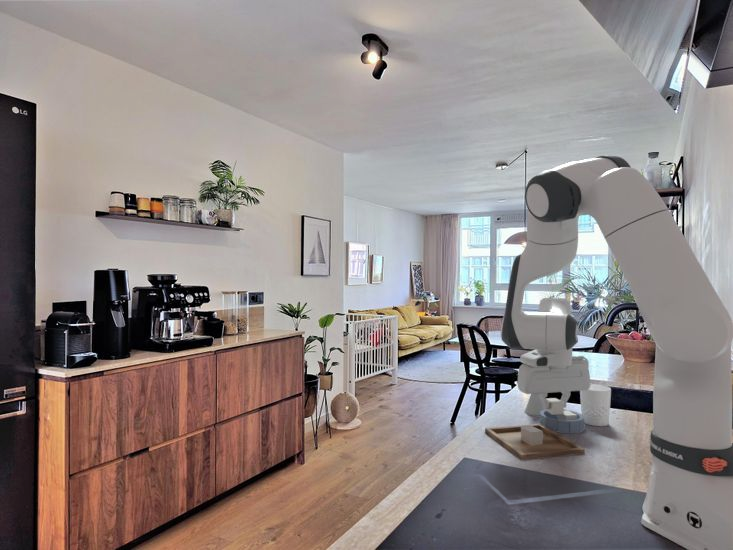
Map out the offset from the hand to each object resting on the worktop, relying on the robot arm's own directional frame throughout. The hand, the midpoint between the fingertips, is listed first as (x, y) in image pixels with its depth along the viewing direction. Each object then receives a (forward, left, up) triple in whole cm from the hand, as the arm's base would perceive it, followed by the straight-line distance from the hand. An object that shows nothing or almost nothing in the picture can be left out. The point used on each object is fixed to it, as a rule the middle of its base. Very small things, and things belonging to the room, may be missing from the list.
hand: (554, 407), depth 125 cm
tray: (-9, +12, -6) cm, 16 cm away
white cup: (+2, -14, -6) cm, 15 cm away
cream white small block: (-9, +12, -5) cm, 16 cm away
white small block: (0, -4, -5) cm, 6 cm away
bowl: (0, -2, -6) cm, 6 cm away
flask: (+12, -2, -6) cm, 13 cm away
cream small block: (0, 0, -1) cm, 1 cm away
